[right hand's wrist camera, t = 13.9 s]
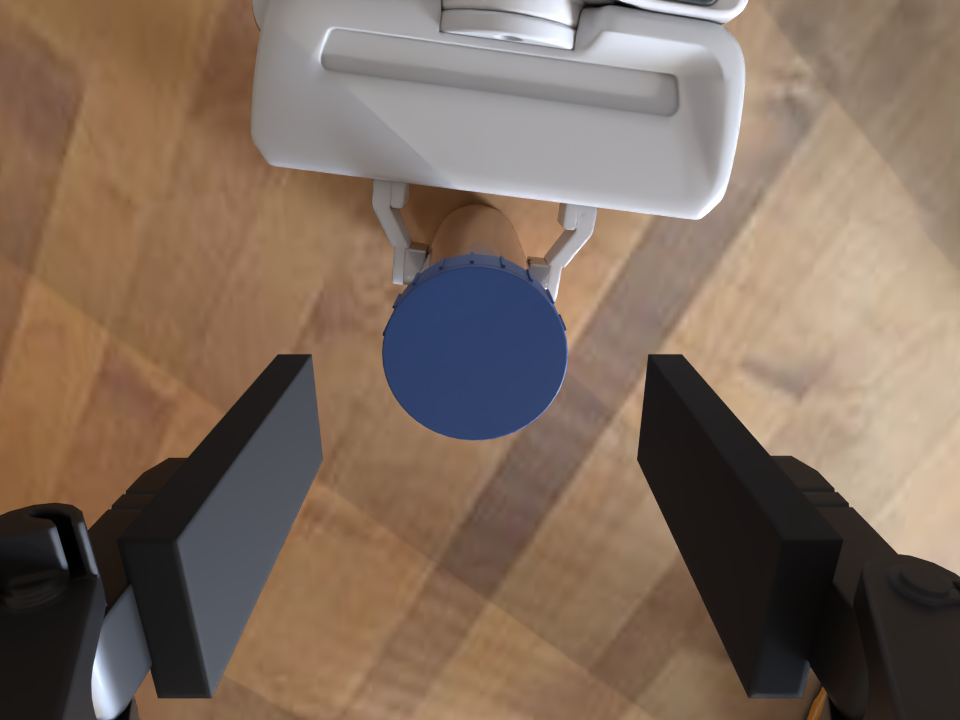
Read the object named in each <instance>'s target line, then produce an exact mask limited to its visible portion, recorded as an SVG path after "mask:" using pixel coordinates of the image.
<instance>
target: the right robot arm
mask: <svg viewBox="0 0 960 720" xmlns="http://www.w3.org/2000/svg"><path fill="white" fill-rule="evenodd" d="M322 460H323V456H322V447H321V437H320V428H319V419H318V410H317V400H316V391H315V382H314V372H313V363H312V354H278V355H277V356H276V357H275V359H274V360H273V361H272V362H271V363H270V364H269V365H268V367H267V368H266V369H265V370H264V371H263V372H262V373H261V375H260V376H259V377H258V378H257V379H256V380H255V381H254V383H253V384H252V385H251V386H250V387H249V388H248V389H247V391H246V392H245V393H244V394H243V395H242V396H241V397H240V399H239V400H238V401H237V402H236V403H235V404H234V406H233V407H232V408H231V409H230V410H229V411H228V412H227V414H226V415H225V416H224V417H223V418H222V419H221V420H220V422H219V423H218V424H217V425H216V426H215V427H214V428H213V430H212V431H211V432H210V433H209V434H208V435H207V436H206V438H205V439H204V440H203V441H202V442H201V443H200V444H199V446H198V447H197V448H196V449H195V450H194V451H193V453H192V454H191V455H190V456H189V457H188V458H168V459H166V460H165V461H163V462H161V463H159V464H158V465H156V466H154V467H153V468H151V469H149V470H148V471H146V472H144V473H143V474H142V475H141V476H140V477H139V478H138V479H137V480H136V481H135V482H134V483H133V484H132V485H131V486H130V487H129V488H128V489H127V490H126V494H123V495H122V496H121V497H120V498H119V499H118V500H117V501H116V502H115V503H114V504H113V505H112V509H111V510H107V511H106V512H105V513H104V514H103V515H102V516H101V517H100V518H99V519H98V521H97V522H96V523H95V524H94V525H93V526H92V527H91V528H90V529H89V530H88V531H87V527H86V524H85V520H84V517H83V513H82V511H81V510H79V509H78V508H76V507H75V506H73V505H69V504H61V503H48V504H39V505H32V506H28V507H24V508H21V509H17V510H13V511H10V512H7V513H5V514H3V515H0V720H139V715H138V708H137V704H136V700H135V697H134V694H135V692H136V691H137V689H138V688H139V686H140V684H141V683H142V681H143V679H144V678H145V676H146V674H147V673H148V671H149V669H151V673H152V677H153V681H154V684H155V688H156V692H157V696H158V698H212V696H213V694H214V692H215V690H216V687H217V685H218V683H219V681H220V679H221V677H222V675H223V672H224V670H225V668H226V666H227V664H228V662H229V660H230V657H231V655H232V653H233V651H234V649H235V647H236V645H237V642H238V640H239V638H240V636H241V634H242V632H243V630H244V627H245V625H246V623H247V621H248V619H249V617H250V615H251V612H252V610H253V608H254V606H255V604H256V602H257V600H258V597H259V595H260V593H261V591H262V589H263V587H264V585H265V582H266V580H267V578H268V576H269V574H270V572H271V570H272V567H273V565H274V563H275V561H276V559H277V557H278V555H279V552H280V550H281V548H282V546H283V544H284V542H285V540H286V537H287V535H288V533H289V531H290V529H291V527H292V525H293V522H294V520H295V518H296V516H297V514H298V512H299V510H300V507H301V505H302V503H303V501H304V499H305V497H306V495H307V493H308V490H309V488H310V486H311V484H312V482H313V480H314V478H315V475H316V473H317V471H318V469H319V467H320V465H321V463H322ZM637 460H638V463H639V465H640V467H641V469H642V471H643V473H644V475H645V478H646V480H647V482H648V484H649V486H650V488H651V490H652V493H653V495H654V497H655V499H656V501H657V503H658V505H659V507H660V510H661V512H662V514H663V516H664V518H665V520H666V522H667V525H668V527H669V529H670V531H671V533H672V535H673V537H674V540H675V542H676V544H677V546H678V548H679V550H680V552H681V555H682V557H683V559H684V561H685V563H686V565H687V567H688V570H689V572H690V574H691V576H692V578H693V580H694V582H695V585H696V587H697V589H698V591H699V593H700V595H701V597H702V600H703V602H704V604H705V606H706V608H707V610H708V612H709V615H710V617H711V619H712V621H713V623H714V625H715V627H716V630H717V632H718V634H719V636H720V638H721V640H722V642H723V645H724V647H725V649H726V651H727V653H728V655H729V657H730V660H731V662H732V664H733V666H734V668H735V670H736V672H737V675H738V677H739V679H740V681H741V683H742V685H743V687H744V690H745V692H746V694H747V696H748V698H802V696H803V692H804V688H805V684H806V681H807V677H808V673H809V669H810V666H811V668H812V669H813V671H814V673H815V674H816V676H817V678H818V679H819V681H820V683H821V684H822V686H823V688H824V689H825V691H826V692H827V693H826V697H825V700H824V704H823V708H822V711H821V715H820V718H819V720H960V577H959V576H958V575H957V574H955V573H953V572H951V571H949V570H947V569H945V568H943V567H941V566H939V565H937V564H935V563H932V562H929V561H926V560H923V559H919V558H916V557H913V556H909V555H900V554H897V553H896V552H895V551H894V550H893V549H892V548H891V547H890V545H889V544H888V543H887V542H886V541H885V540H884V539H883V538H882V537H881V536H880V535H879V534H878V533H877V532H876V531H875V530H874V529H873V528H872V527H871V526H870V525H869V524H868V523H867V522H866V521H865V520H864V519H863V518H862V517H861V516H860V515H859V514H858V512H857V511H856V510H855V509H854V508H853V507H849V503H848V502H847V501H846V500H845V499H844V498H843V497H842V496H841V495H840V494H839V493H838V492H835V491H834V488H833V487H832V486H831V485H830V484H829V483H828V482H827V480H826V479H825V478H824V477H823V476H822V475H821V474H820V473H819V472H818V471H816V470H815V469H813V468H811V467H810V466H808V465H806V464H804V463H803V462H801V461H799V460H798V459H796V458H794V457H792V456H770V455H769V454H768V453H767V451H766V450H765V449H764V448H763V447H762V446H761V444H760V443H759V442H758V441H757V440H756V439H755V438H754V436H753V435H752V434H751V433H750V432H749V431H748V430H747V428H746V427H745V426H744V425H743V424H742V423H741V422H740V420H739V419H738V418H737V417H736V416H735V415H734V414H733V412H732V411H731V410H730V409H729V408H728V407H727V406H726V404H725V403H724V402H723V401H722V400H721V399H720V397H719V396H718V395H717V394H716V393H715V392H714V391H713V389H712V388H711V387H710V386H709V385H708V384H707V383H706V381H705V380H704V379H703V378H702V377H701V376H700V375H699V373H698V372H697V371H696V370H695V369H694V368H693V367H692V365H691V364H690V363H689V362H688V361H687V360H686V359H685V357H684V356H683V355H682V354H648V363H647V372H646V382H645V391H644V400H643V410H642V419H641V428H640V437H639V447H638V456H637Z"/></svg>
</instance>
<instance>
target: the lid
mask: <svg viewBox="0 0 960 720" xmlns="http://www.w3.org/2000/svg"><path fill="white" fill-rule="evenodd" d="M554 303H555V302H554V300H553V298H552V295H551V293H550V291H549V289H547V290H545V288H544V287H543V286H542V285H541V283H540V282H539V281H538V280H537V279H536V278H535V277H534V276H533V275H532V274H531V271H530V270H529V269H528V268H527V270H525V269H524V268H522V267H520V266H518V265H517V264H515V263H513V262H510V261H508V260H505V259H504V256H500V258H499V257H495V256H491V255H483V254H474V252H471V253H470V254H467V255H460V256H455V257H451V258H448V259H445V257H443V258H441V261H440V262H438V263H435V264H434V265H432V266H430V267H429V268H427V269H425V270H424V271H423V272H421V273H419V272H417V273H416V275H415V277H414V279H413V281H412V282H411V283H410V284H409V285H408V286H407V288H406V289H405V290H404V292H403V293H402V294H400V293H399V295H398V297H397V299H396V301H395V303H394V305H393V307H392V308H394V311H393V313H392V315H391V317H390V319H389V321H388V323H387V325H386V328H385V330H384V332H383V336H384V340H383V350H382V357H383V367H384V371H385V376H386V379H387V381H388V384H389V387H390V389H391V391H392V393H393V394H394V396H395V398H396V399H397V401H398V402H399V403H400V405H401V406H402V407H403V408H404V409H405V411H406V412H407V413H408V414H409V415H410V416H412V417H413V418H414V419H415V420H416V421H418V422H419V423H421V424H422V425H424V426H425V427H427V428H429V429H431V430H433V431H435V432H437V433H439V434H442V435H445V436H448V437H452V438H457V439H463V440H487V439H494V438H498V437H502V436H506V435H508V434H511V433H514V432H516V431H518V430H520V429H522V428H523V427H525V426H527V425H528V424H530V423H531V422H533V421H534V420H535V419H536V418H538V417H539V416H540V415H541V414H542V413H543V412H544V411H545V410H546V409H547V407H548V406H549V405H550V404H551V403H552V401H553V399H554V398H555V396H556V395H557V393H558V391H559V389H560V387H561V385H562V382H563V379H564V376H565V372H566V367H567V359H568V349H567V339H566V335H565V330H566V327H565V324H564V322H563V320H562V318H561V315H560V314H559V315H558V313H557V311H556V308H555V306H554Z"/></svg>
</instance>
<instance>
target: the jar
mask: <svg viewBox="0 0 960 720" xmlns="http://www.w3.org/2000/svg"><path fill="white" fill-rule="evenodd" d="M471 252H474V254H483V255H491V256H495V257H499V258H500V256H504V259H505V260H508V261H510V262H513V263H515V264H517V265H518V266H520V267H522V268H524V269H525V270H527V268H528V269H529V270H530V268H529V265H528V262H527V260H526V257H525V254H524V252H523V249H522V246H521V244H520V241H519V238H518V235H517V233H516V230H515V228H514V226H513V224H512V223H511V222H510V220H509V219H508V218H507V217H506V216H505V215H504V214H503V213H501V212H500V211H498V210H497V209H495V208H492V207H490V206H486V205H479V204H474V205H467V206H464V207H461V208H458V209H456V210H455V211H453V212H452V213H450V214H449V215H448V216H447V217H446V218H445V219H444V220H443V222H442V223H441V224H440V226H439V228H438V230H437V233H436V235H435V238H434V240H433V243H432V245H431V248H430V250H429V253H428V255H427V258H426V260H425V263H424V265H423V268H422V270H421V272H423V271H424V270H425V269H427V268H429V267H430V266H432V265H434V264H435V263H438V262H440V261H441V258H443V257H445V259H448V258H451V257H455V256H460V255H467V254H470V253H471ZM531 274H532V273H531Z"/></svg>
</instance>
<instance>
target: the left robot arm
mask: <svg viewBox="0 0 960 720" xmlns="http://www.w3.org/2000/svg"><path fill="white" fill-rule="evenodd" d="M747 2H748V0H252V8H253V14H254V19H255V22H256V25H257V27H258V29H259V31H260V36H259V42H258V49H257V55H256V63H255V71H254V80H253V91H252V105H251V137H252V140H253V143H254V144H255V146H256V147H257V149H258V150H259V151H260V153H261V154H262V156H263V157H264V158H265V160H266V161H267V162H268V163H269V164H270V165H272V166H277V167H285V168H293V169H300V170H308V171H316V172H324V173H332V174H340V175H348V176H355V177H363V178H371V179H373V196H372V207H373V209H374V211H375V213H376V215H377V217H378V219H379V221H380V223H381V225H382V227H383V229H384V232H385V234H386V236H387V238H388V240H389V242H390V244H391V246H394V259H393V273H392V283H395V284H401V285H409V284H410V283H411V282H412V281H413V279H414V277H415V275H416V273H417V272H419V273H421V270H422V268H423V265H424V263H425V260H426V258H427V255H428V252H429V244H424V243H417V242H412V239H411V236H410V234H409V232H408V230H407V227H406V225H405V223H404V221H403V218H402V216H401V214H400V211H399V209H401V208H402V207H403V206H404V205H405V204H406V203H407V202H408V201H409V191H410V184H418V185H426V186H434V187H442V188H450V189H457V190H465V191H473V192H481V193H489V194H497V195H505V196H512V197H520V198H528V199H536V200H544V201H552V202H559V203H560V206H559V212H558V219H557V220H558V222H559V223H560V224H561V225H562V226H563V228H564V229H565V231H564V232H563V233H562V234H561V236H560V237H559V238H558V240H557V241H556V242H555V243H554V245H553V246H552V247H551V249H550V250H549V251H548V253H547V254H546V255H545V256H544V258H539V257H529V256H528V257H527V262H528V265H529V268H530V271H531V273H532V275H533V276H534V277H535V278H536V279H537V280H538V281H539V282H540V283H541V285H542V286H543V287H544V288H545V290H547V289H549V291H550V293H551V295H552V298H553V300H554V302H555V300H556V297H557V292H558V286H559V280H560V275H561V269H562V267H565V266H566V265H567V264H568V263H569V261H570V260H571V259H572V258H573V257H574V255H575V254H576V253H577V252H578V251H579V249H580V248H581V247H582V246H583V245H584V244H585V242H586V241H587V240H588V239H589V238H590V236H591V235H592V234H593V230H594V224H595V219H596V214H597V209H598V207H599V208H607V209H614V210H622V211H630V212H638V213H646V214H654V215H661V216H669V217H677V218H685V219H693V220H698V219H701V218H702V217H704V216H705V215H706V214H707V213H708V212H709V211H711V210H712V209H713V208H714V207H715V206H716V205H717V204H718V203H719V202H720V201H721V200H722V198H723V196H724V194H725V191H726V188H727V185H728V181H729V177H730V173H731V169H732V165H733V160H734V155H735V151H736V145H737V140H738V134H739V128H740V122H741V115H742V107H743V99H744V90H745V63H744V57H743V53H742V50H741V48H740V45H739V44H738V42H737V40H736V39H735V37H734V36H733V35H732V34H731V33H730V32H729V31H728V30H727V29H725V28H724V27H722V26H721V25H723V24H725V23H726V22H728V21H730V20H732V19H733V18H734V17H736V16H737V15H738V14H740V13H741V12H742V11H743V9H744V8H745V6H746V4H747ZM398 208H399V209H398Z"/></svg>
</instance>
